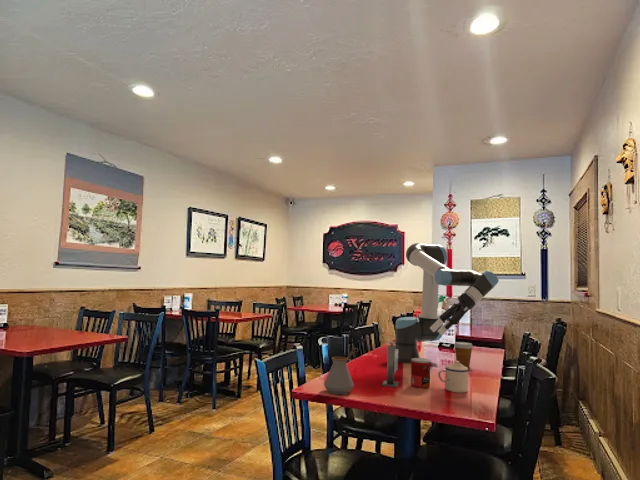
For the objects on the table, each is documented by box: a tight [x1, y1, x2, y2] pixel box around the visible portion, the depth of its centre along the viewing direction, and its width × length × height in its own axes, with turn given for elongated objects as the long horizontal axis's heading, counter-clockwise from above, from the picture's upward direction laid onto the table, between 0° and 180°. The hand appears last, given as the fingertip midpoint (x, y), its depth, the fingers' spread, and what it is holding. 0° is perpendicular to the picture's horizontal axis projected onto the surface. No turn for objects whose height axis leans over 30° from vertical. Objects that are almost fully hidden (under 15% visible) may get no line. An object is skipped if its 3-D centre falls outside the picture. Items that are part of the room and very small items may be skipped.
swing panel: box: [389, 340, 399, 375], centre depth 195 cm, size 20×2×14 cm, turn 163°
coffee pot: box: [323, 347, 359, 395], centre depth 175 cm, size 21×12×15 cm, turn 152°
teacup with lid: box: [437, 360, 469, 394], centre depth 182 cm, size 12×9×12 cm
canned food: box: [410, 357, 431, 390], centre depth 184 cm, size 8×8×11 cm
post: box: [381, 345, 400, 388], centre depth 185 cm, size 6×6×16 cm
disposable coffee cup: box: [453, 341, 474, 368], centre depth 233 cm, size 10×10×12 cm
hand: (435, 331), depth 199 cm, fingers open, 11 cm apart
